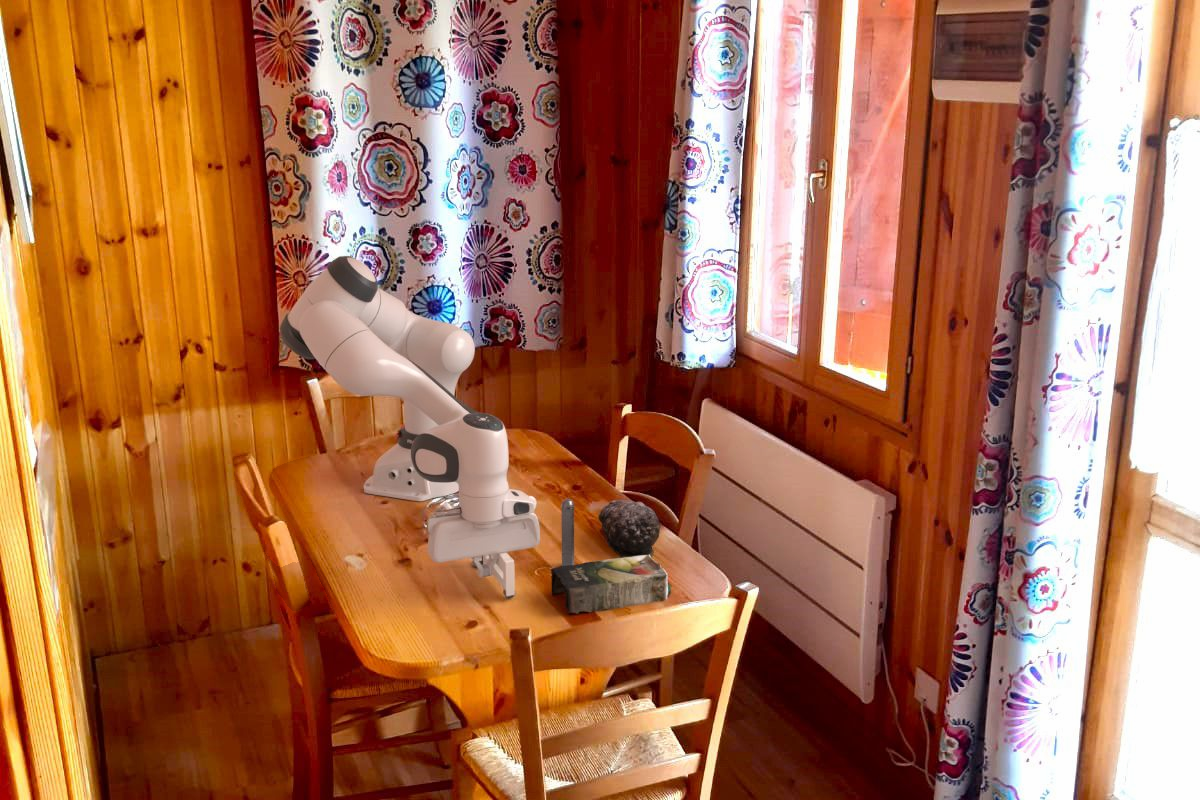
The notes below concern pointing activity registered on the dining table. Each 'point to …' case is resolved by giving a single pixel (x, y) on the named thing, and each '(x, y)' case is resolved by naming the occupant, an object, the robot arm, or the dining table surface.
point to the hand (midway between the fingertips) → (485, 575)
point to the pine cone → (629, 527)
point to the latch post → (567, 532)
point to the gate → (504, 573)
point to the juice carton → (611, 583)
